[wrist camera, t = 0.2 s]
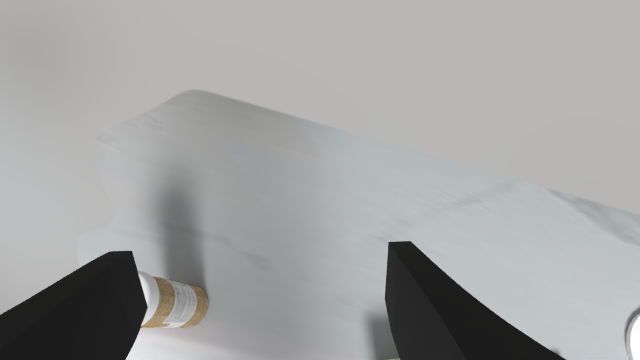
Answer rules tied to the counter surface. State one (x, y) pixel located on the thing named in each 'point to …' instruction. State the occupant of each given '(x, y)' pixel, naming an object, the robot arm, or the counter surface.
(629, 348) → the pendant
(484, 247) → the counter surface
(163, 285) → the sprinkles bottle
